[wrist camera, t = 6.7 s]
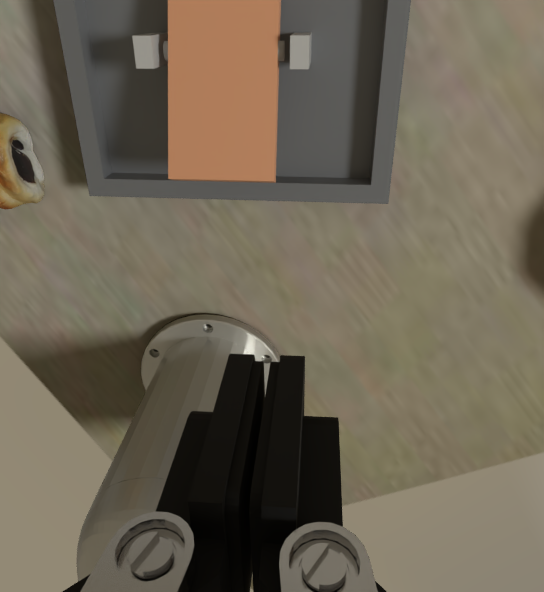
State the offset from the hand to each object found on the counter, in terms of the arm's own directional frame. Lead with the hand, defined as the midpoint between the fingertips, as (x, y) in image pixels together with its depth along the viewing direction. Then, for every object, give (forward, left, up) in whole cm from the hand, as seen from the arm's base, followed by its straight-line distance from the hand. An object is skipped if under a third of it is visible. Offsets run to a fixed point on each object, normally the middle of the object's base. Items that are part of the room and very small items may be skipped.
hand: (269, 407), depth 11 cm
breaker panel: (+6, +5, -26) cm, 28 cm away
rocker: (+6, +5, -22) cm, 23 cm away
